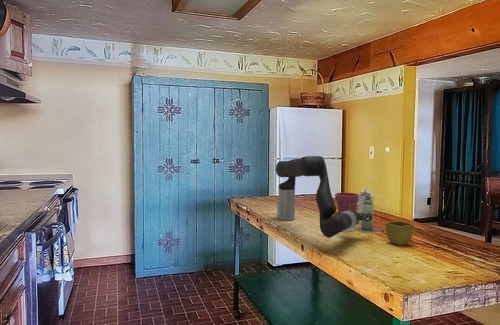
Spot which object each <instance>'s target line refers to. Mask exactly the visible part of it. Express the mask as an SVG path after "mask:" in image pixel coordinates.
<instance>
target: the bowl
mask: <svg viewBox="0 0 500 325" xmlns="http://www.w3.org/2000/svg"><path fill="white" fill-rule="evenodd" d="M356 227H357V225H355V226H353V227H351V228H349V229H346V230H344V231H342V232H341V233H350V232H351V233H352V232H355V231H356Z"/></svg>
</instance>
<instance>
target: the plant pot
mask: <svg viewBox="0 0 500 325" xmlns="http://www.w3.org/2000/svg"><path fill="white" fill-rule="evenodd" d="M359 195H360V194H359V193H355V192H336V193H334V200H335V201H336V205H337V211H338V213H339V212H341V211H347V210H350V209H351V210H355V211H356V209H357V207H358V196H359ZM356 212H357V211H356Z"/></svg>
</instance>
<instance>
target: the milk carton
mask: <svg viewBox="0 0 500 325" xmlns="http://www.w3.org/2000/svg"><path fill="white" fill-rule="evenodd" d="M359 193H360V194H359V196H358V203H357V207H358V208H357V213H362V203H364V199H365V193H371V194H370V200H372V204H374V194H373V193H372V192H370V191H369V190H368V187H366V188H365V189H362V190H361V191H360V192H359ZM360 215H362V214H360ZM361 222H362V221H359V222H358V224H361Z"/></svg>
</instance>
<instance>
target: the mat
mask: <svg viewBox="0 0 500 325" xmlns="http://www.w3.org/2000/svg"><path fill="white" fill-rule="evenodd" d="M355 231H358V232H360V233H363V234H366V233H367V234H370V233H382V232H384V231H383V230H381V229H378V228H375V227H373V230H372V231H364V230H362V229H361V226H358V227H357V226H356V229H355Z"/></svg>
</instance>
